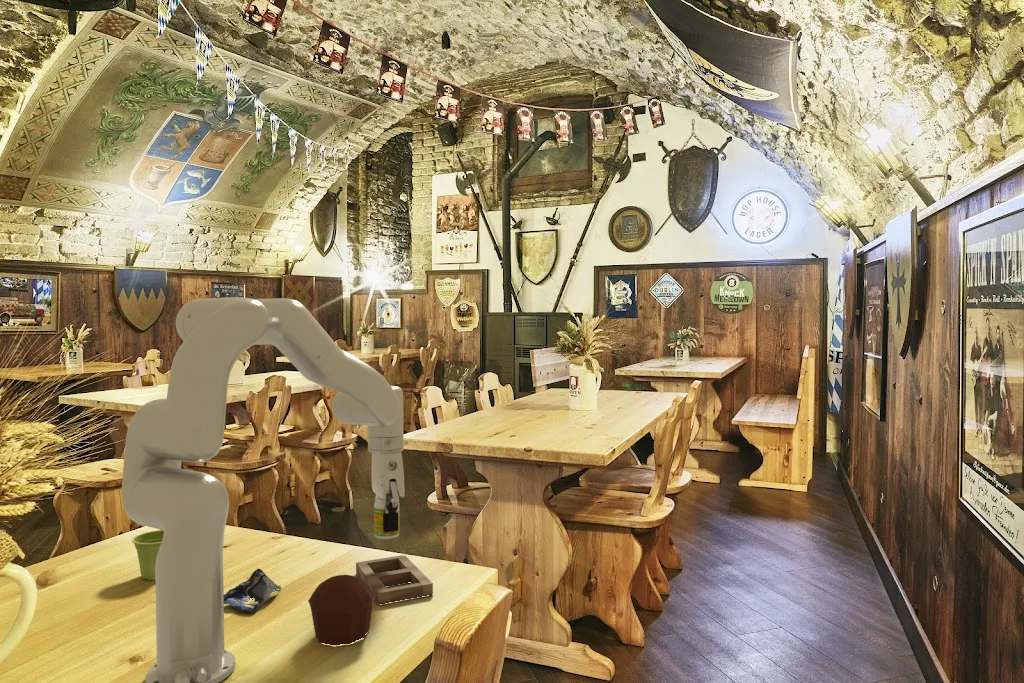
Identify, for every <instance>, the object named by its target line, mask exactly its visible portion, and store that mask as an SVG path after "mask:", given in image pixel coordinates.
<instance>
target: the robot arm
mask: <svg viewBox="0 0 1024 683" xmlns="http://www.w3.org/2000/svg"><path fill="white" fill-rule="evenodd" d="M175 329H176V331H177V334H178V336H179V337H180V339H181V340H182V343H181V344H180V345H179V347H178V350H177V351H176V353H175V355H174V356H173V359H172V363H171V366H170V371H169V379H168V384H167V394H166V398H158V399H153V400H150V401H148V402H146V403H144V404H143V405H141V406H140V407H139V408H138V409H137V411H136V412H135V413H134V414H133V416H132V417H131V419H130V422H129V423H128V424H129V425H128V427H127V430H126V436H125V444H124V445H125V446H124V454H123V466H122V467H123V468H122V482H121V503H122V509H123V511H124V513H125V514H126V516H127V517H128V518H129V519H130V520H131V521H132V522H134V523H136V524H138V525H141V526H145V527H147V528H154V529H156V530H157V529H158V530H163V531H164V537H163V540H162V543H161V546H160V548H159V551H158V554H157V558H156V565H155V580H154V581H155V628H156V631H155V635H156V637H155V638H156V639H155V640H156V663H154V664H153V665H152V666H150V668H149V669H148V670H147V671H146V674H145V683H220V682H223V681H224V680H225V679H226V678H228V677H229V676H230V675H231V674H232V673H233V671H234V670H235V668H236V667H235V666H236V657H235V655H234V654H233V653H232V652H230V651H229V650H226V649H225V606H224V605H225V604H224V595H225V594H224V591H225V590H224V540H225V538H224V537H225V532H226V525H227V520H228V514H229V511H230V510H229V509H230V508H229V507H230V498H229V493H228V490H227V488H226V486H225V484H223V482H221V480H219V479H218V478H217V477H215V476H213V475H211V474H208V473H206V472H202V471H197V470H191V469H186V468H185V469H184V468H182V462H185V463H201V462H206V461H210V460H211V459H212V458H214V457H215V456H217V455H218V453H219V452H220V450H221V448H222V446H223V443H224V437H225V426H226V414H227V412H226V411H227V400H228V399H227V398H228V389H229V380H230V377H231V376H230V375H231V373H232V370H233V367H234V366H235V364H236V363H237V361H238V359H239V358H240V357H241V356H242V354H244V353H245V352H246V351H247V350H249V349H250V348H251V347H252V346H255V345H256V346H257V345H261V346H263V345H264V346H265V345H267V346H268V345H269V346H273V347H275V348H277V349H278V351H280V353H281V354H282V355H283V356H284V357H285V358H286V359H287V360H288V361H289V362H290V363H291V364H292V365H293V366H294V367H295V368H296V370H297V371H298V372H299V373H300V374H301V375H302V376H303V378H305V379H307V380H309V381H310V382H312V383H315V384H317V385H319V386H322V387H324V388H328V389H331V390H334V391H337V393H336V395H335V396H334V397H333V399H332V402H331V412H332V414H333V416H334V417H335V419H336V420H338V421H339V422H340V423H343V424H347V425H355V426H367V452H369V453H371V467H370V468H371V472H370V474H371V489H372V491H373V493H374V494H375V500H374V503H375V502H376V501H377V500H378V498H377V495H378V496H379V497H380V498H382V499H383V502H384V512H385V513H383V531H384V532H393V531H398V529H399V525H398V511H399V512H400V509H399V510H398V505H399V506H400V499H403V498H404V497H405V493H406V492H405V491H406V490H405V473H404V471H405V470H404V462H403V455H402V454H403V453H402V452H403V451H404V448H405V446H404V445H405V444H404V394H403V393H404V392H403V389H402V388H401V387H400V386H395V385H391V384H390V383H389V381H387V380H386V379H385V377H384V376H383V374H381V373H380V372H379V371H378V370H376V369H375V368H374V367H372V366H370V365H369V364H367V363H366V362H364V361H362V360H361V359H359V358H358V357H356V356H355V355H352V354H351V353H349V352H347V351H346V350H344V349H342V348H341V347H339V345H338V344H337V343H336V342H335V341H334V339H332V337H331V336H330V334H328V332H327V331H326V330H325V329H324V328H323V327H322V325H321V324H320V323H319V322H318V320H317V319H316V318H315V317H314V315H312V313H311V312H310V311H309V310H308V309H307V308H306V306H305V305H304V304H302V303H301V302H299V301H298V300H295V299H292V298H285V297H284V298H282V297H281V298H278V297H277V298H257V299H254V298H250V297H241V296H235V297H233V296H231V297H229V296H227V297H217V298H216V297H215V298H214V297H213V298H211V297H210V298H209V297H208V298H197V299H193V300H191V301H188V302H187V303H185V304H184V305H183V306H181V308H180V309H179V310H178V313H177V315H176V318H175ZM387 495H391V498H387ZM387 501H391V502H390V503H389V504H388V503H387ZM398 503H399V504H398Z"/></svg>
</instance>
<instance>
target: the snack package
mask: <svg viewBox="0 0 1024 683" xmlns="http://www.w3.org/2000/svg"><path fill="white" fill-rule="evenodd" d="M246 579H247V580H245V581H243V582H241V583H239V584H238V585H237V586H235V587H234V588H231V589H229V590H228V591H227V592H226V593H225V594H224V605H230V606H232V607H233V608H234V609H235V610H236V611H237V612H239V613H241V614H255V613H256V612H257V611H258V609H259V608H260V607H261V606H263V605H264V604H265V603H266V601H268V600H269V599H271V598H273V597H275V596H277V595H279V593H280V592H279V593H278V594H276V595H275V594H274V595H272V594H273V593H272V592H275V591H277V590H276V589H279V590H280V591H281V589H282V588H281V586H280V585H277V584H276V583H275V581H274V580H272V579H271V578H270V577H269V576H268V575H267V574H266V573H265V572H264V570H262V569H261V568H257V569H256V570H254V571H253V572H252V573H251V575H250V576H248V577H247V578H246ZM271 593H272V594H271ZM250 598H251V599H252V598H254V600H253V601H254V602H252V603H253V604H252V603H249V604H245V603H246V602H248V601H249V600H250ZM246 605H251V607H249V606H246Z"/></svg>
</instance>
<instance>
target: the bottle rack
mask: <svg viewBox="0 0 1024 683" xmlns="http://www.w3.org/2000/svg"><path fill="white" fill-rule="evenodd" d="M404 555H405V554H402V555H396V556H390V557H383V558H377V559H369V560H362V561H358V562H355V574H356V576H357V575H358V576H357V578H360V579H361V580H363V581H365V582H366V583H367V585H368V586H369V587H370V588H371V590H372V591H373V592H374V594H375V595H376V597H375V600H376V601H377V602H376V601H375V600H374V601H375V602H376V604H377V603H378V604H379V605H380V604H385V603H389V602H395V601H400V600H405V599H411V598H417V597H422V596H427V595H432V594H433V595H434V583H433V582H432V581H431V580H430V579H429V577H427V576H426V575H425V574H424V573H423V571H422V570H420V569H419V568H418V567H417V566H416V565H415V564H414V563H413V561H411V560H410V559H409V558H408V557H407V556H406V555H405V556H404ZM396 569H398V570H396ZM390 570H392V571H390ZM384 571H386V572H384ZM379 572H380V573H379ZM408 582H411V583H412V584H411V583H408ZM403 583H408V584H403ZM398 584H403V585H398ZM392 585H397V586H392ZM386 586H391V587H386ZM378 604H377V605H378ZM379 605H378V606H379Z"/></svg>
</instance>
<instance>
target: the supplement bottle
mask: <svg viewBox="0 0 1024 683" xmlns="http://www.w3.org/2000/svg"><path fill="white" fill-rule="evenodd" d="M377 498H378V500H377V501H376V502H375V501H374V504H373V523H374V524H373V526H374V528H373V532H374V535H373V536H374V538H376V539H381V540H390V539H395V538H397V537H399V535H400V533H401V532H400V502H399V503H398V504H399V505H398V510H399V511H398V525H399V529H398V531H393V532H384V531H383V513H385V512H384V502H383V499H382V498H380V497H379V496H378V495H377ZM387 498H391V495H387ZM390 502H391V501H387V503H388V504H389V503H390Z"/></svg>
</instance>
